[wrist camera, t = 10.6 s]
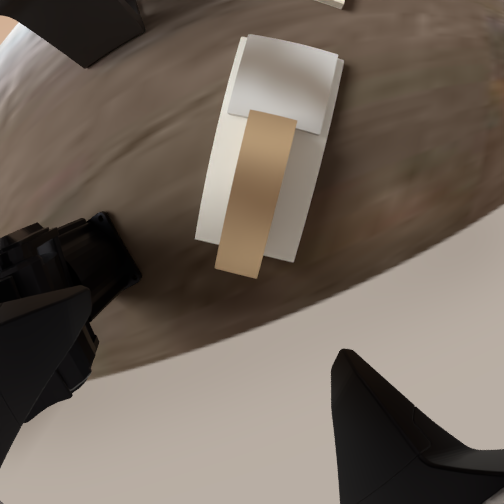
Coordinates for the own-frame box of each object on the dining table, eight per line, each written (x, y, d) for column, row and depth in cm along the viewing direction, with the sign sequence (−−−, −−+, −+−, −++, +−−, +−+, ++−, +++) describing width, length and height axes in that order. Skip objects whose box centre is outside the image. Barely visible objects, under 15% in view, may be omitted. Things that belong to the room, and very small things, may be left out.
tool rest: (292, 259, 20) (293, 262, 20) (196, 236, 20) (194, 238, 20) (342, 62, 16) (344, 60, 15) (242, 39, 15) (241, 36, 15)
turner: (284, 261, 20) (286, 285, 16) (201, 241, 20) (185, 260, 16) (335, 58, 15) (349, 37, 11) (249, 38, 15) (244, 12, 11)
